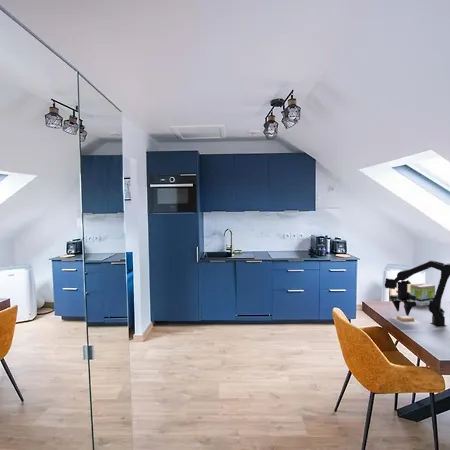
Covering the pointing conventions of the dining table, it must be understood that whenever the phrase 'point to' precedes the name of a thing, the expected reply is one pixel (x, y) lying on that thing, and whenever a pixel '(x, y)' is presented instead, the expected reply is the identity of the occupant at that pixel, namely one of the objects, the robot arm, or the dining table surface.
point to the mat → (408, 322)
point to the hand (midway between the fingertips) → (402, 313)
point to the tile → (405, 318)
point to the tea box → (422, 293)
